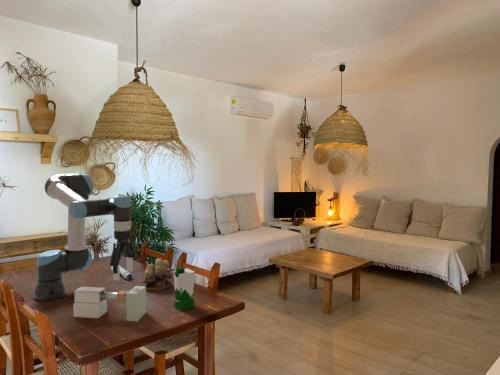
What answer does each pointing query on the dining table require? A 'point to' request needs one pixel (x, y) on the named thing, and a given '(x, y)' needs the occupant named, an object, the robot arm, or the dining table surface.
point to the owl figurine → (157, 276)
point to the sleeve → (89, 302)
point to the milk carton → (184, 288)
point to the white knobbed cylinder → (124, 273)
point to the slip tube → (114, 296)
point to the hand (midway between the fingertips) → (123, 275)
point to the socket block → (136, 303)
